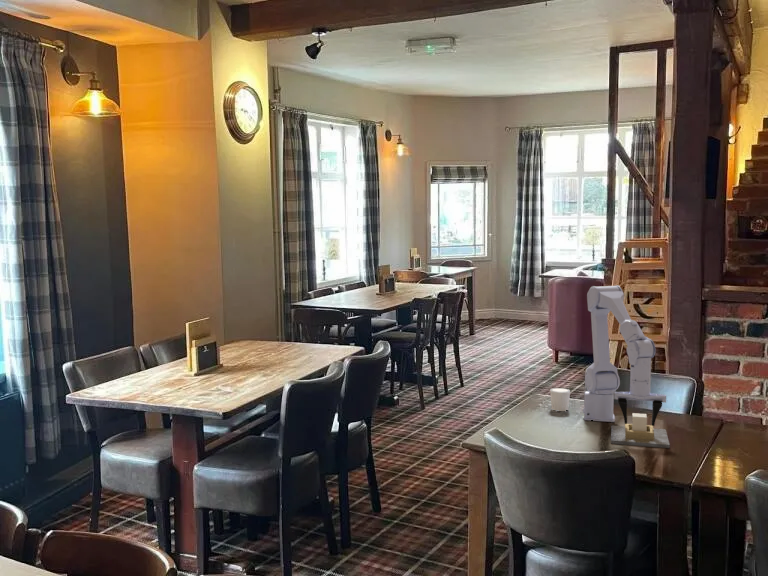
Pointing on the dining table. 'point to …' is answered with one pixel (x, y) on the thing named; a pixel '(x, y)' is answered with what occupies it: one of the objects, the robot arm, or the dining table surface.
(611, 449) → the dining table surface
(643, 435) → the socket plate
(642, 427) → the cream block
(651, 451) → the dining table surface
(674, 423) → the dining table surface
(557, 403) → the white cylinder
